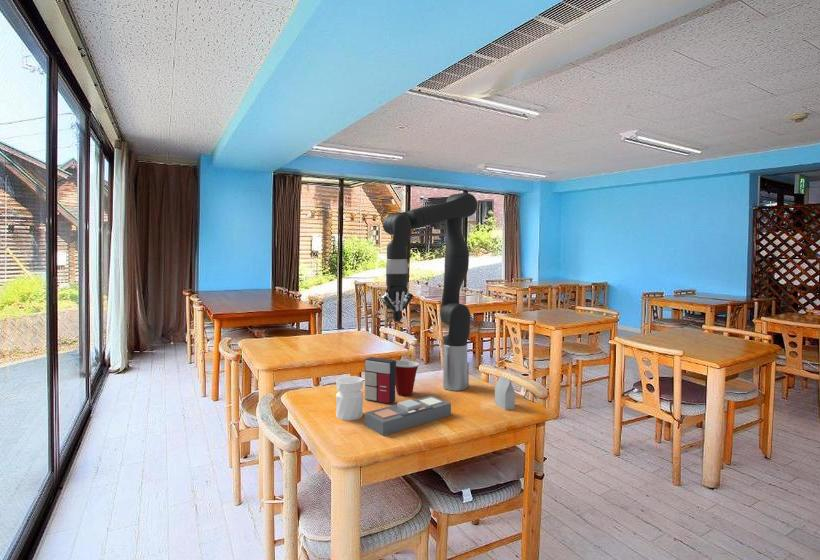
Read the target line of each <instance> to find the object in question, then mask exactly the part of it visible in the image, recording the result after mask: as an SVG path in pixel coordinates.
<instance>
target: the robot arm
mask: <svg viewBox="0 0 820 560" xmlns="http://www.w3.org/2000/svg"><path fill="white" fill-rule="evenodd" d="M477 208H478V201H477V198H476V197H475V196H474V195H473V194H471V193H468V192H461V193H453V194H450V195H449V196H448V197H447V198H446V202H442V203H435V204H430V205H425V206H421V207H417V208H413V209H411V210H408V211H403V212H398V213H396V212H395V213H393V214H389V215H387V216H386V217H385V218H383V221H382V228H383V230H384V232H385V233H387V235H392V239H391V241H390V242H388V243H387V245H386V264H385V279H386V280H385V281H386V283H385V284H386V290H385V293H384V294H383V295H380V300H381V301H382V303H384V305H385V307H386V308H387V309H388V310H391V311H392V320H393V321H394V322H395V323H398V322H399V323H400V322H401V321H402V315H403V314H402V311H403V310H404V309H407V307H408V305H409V304H410V302H411V301H412V299H413V296H414V294H413V293H411V292H409V289H408V285H409V279H408V278H409V276H408V275H409V269H408V268H409V267H408V265H409V264H408V245H409V241H410V237H411V231H412V230H417V229H421V228H425V227H427V226H428V227H429V226H431V225H434V224H437V223H440V222H442V221H445V250H444V251H445V253H444V273H443V288H442V289H443V291H442V297H441V303H440V311H439V313H440V314H439V315H440V320H441V321H442V322H443V323H444V324H445V325H446V326H448V334H446V335H444V336H443V345H442V346H443V347H442V348H443V351H442V352H443V353H442V355H443V356H442V357H443V363H442V365H443V366H442V367H443V368H442V369H443V370H442V373H443V375H442V377H443V378H442V380H443V381H442V384H443V385H442V388H444V389H445V390H448V391H464V390H466V389H467V388H469V386H470V385H469V384H470V382H469V381H470V380H469V379H470V376H469V375H470V363H469V362H468V340H469V337H470V332H471V330H470V329H471V311H470V309H469V307H468V306H467V305H465V304H464V303H463V304H462V303H460V293H461V292H460V291H461V287H462V285H463V282H464V281H465V278H466V277H467V273H468V270H469V266H470V265H469V264H470V263H469V262H470V251H469V248H468V245H467V243H466V239H465V238H464V235H463V231H462V218H470V217H471V216H473V215H474V214H475V213H476V211H477Z"/></svg>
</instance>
